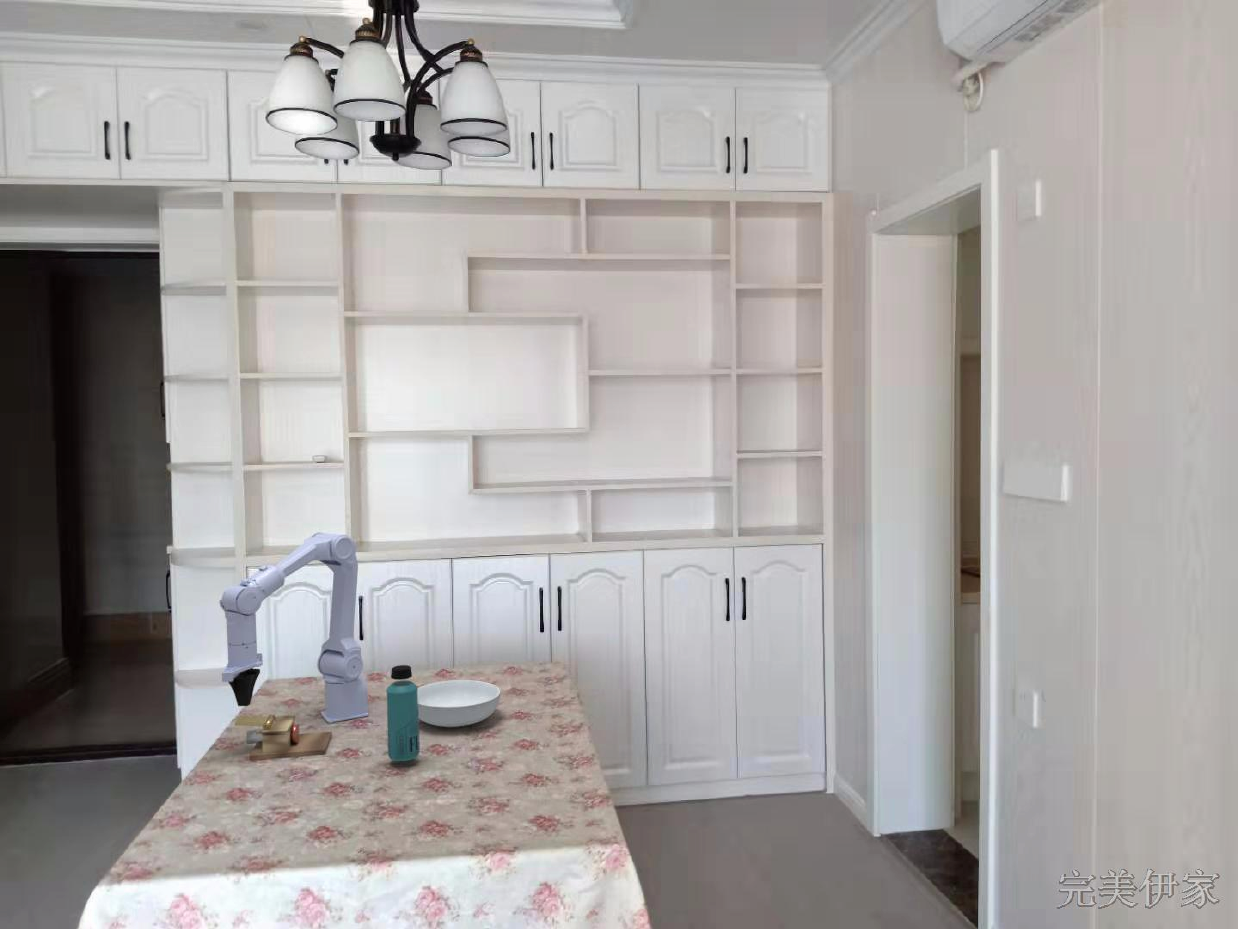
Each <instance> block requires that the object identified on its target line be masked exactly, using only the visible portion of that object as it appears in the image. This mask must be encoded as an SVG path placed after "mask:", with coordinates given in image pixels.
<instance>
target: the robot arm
mask: <svg viewBox="0 0 1238 929" xmlns="http://www.w3.org/2000/svg"><path fill="white" fill-rule="evenodd" d="M356 550H357V543H356V542H355V541H354V540H353V538H352V537H351V536H349V535H348V534H334V533H324V532H320V531H319V532H318V531H317V532H315V533H313V534H312V535H311V536H308V537H307V538H305V539H304V541H303V543H302V544H301V545H300V546H297V548H296V549H294V550H293V551H292V552H290V554H289V555H287V556H286V557H284V559H282V560H281V561H280V562H278V563H277V564H275V565H273V564H267V565H261V566H259V567H258V570H257V571H256V572H254V573H252V574H251V575H250V576H249V577H248V578H243V579H242V580H241V581H240V584H239V585H237V584H236V585H230V586H229V587H227V588H226V589H225V590H224V591H223V593H222V596H221V599H220V600H219V601H218V602H219V605H220V606H219V607H220V608H221V609H222V611H224V618H225V619H226V644H227V663H226V666H225V668H224V670H223V671H222V672H221V682H222V683H223V682H225V683H227V682H228V684H229V685H230V687H231V689H232V691H233V694H234V697H235V700H236V704H237V706H238V707H248V706H250V705H251V703H252V697H253V693H254V688H255V685H256V682H257V680H258V677H259V675H260V674H261V669H260V668H259V667H261V666H263V664H264V661H263V653H261V652H260V653H259V652H258V644H257V612H258V611H259V610H260V608H261V605H262V603H263V602H264V601H265V600H266V599H267V598H268V597H270V596H271V595H272V594H274V593H275V592H276V591H278V590H279V589H281V588H282V587H283V586H284V585H285V581H286V580H285V579H286V578H287V577H289V576H290V575H292V574H293V573H295V572H297V571H299V570H300V569H302V568H303V567H305V566H306V565H308V564H309V563H311V562H313V561H318V562H321V563H323V564H324V565H326V567H327V568H329V570H330V571H332V573H333V577H332V590H331V591H332V592H331V607H330V620H329V621H330V622H329V633H328V634H329V637H328V639H327V640H326V641H325V642H323V643H322V645H321V650H320V654H319V656H318V658H317V662H316V667H317V670H318V672H319V673H320V674H321V675H322V680H324V701H325V702H324V706H325V710H324V711H321V712H320V715H321V716H322V718H324V720H325V721H326V722H327V723H329V724H330V723H337V722H341V721H346V720H352V719H358V718H363V717H368V716H369V711H368V710H369V706H368V705H369V704H368V684H367V680H366V677H365V676H364V675H361V673H362V671H363V667H364V661H363V658H362V652H361V651H362V647H361V646H360V645H359V644H358V643H357V642H358V641H356V640H355V638H354V631H355V618H356V617H355V616H356V601H357V600H356V599H357V585H358V572H359V563H358V559H357V555H356V554H357V551H356Z"/></svg>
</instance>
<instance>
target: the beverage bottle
mask: <svg viewBox="0 0 1238 929" xmlns="http://www.w3.org/2000/svg"><path fill="white" fill-rule="evenodd" d="M412 675H413V674H412V666H411V665H408V664H400V665H395V666H393V667H392V668H391V675H390V678H391V679H392V680H396V681H393V682H392V683H390V685H388V687H387V688H386V707H387V708H386V710H387V711H386V712H387V713H386V717H387V720H386V723H387V724H386V729H387V733H386V735H387V746H386V747H387V755H388V758H389V759H390V760H392V761H395V762H405V761H406V762H407V761H411V760H413V759H416V758H418V756H419V755H420V750H421V744H420V743H421V739H420V727H419V725H420V723H419V718H418V712H419V711H418V697H417V689H418V688H419V687H418V686H417V684H415V683H414V682H413V681H412V680H408V679H411V678H412Z"/></svg>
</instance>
